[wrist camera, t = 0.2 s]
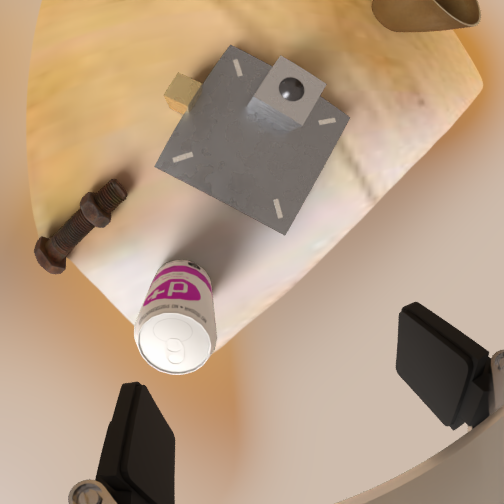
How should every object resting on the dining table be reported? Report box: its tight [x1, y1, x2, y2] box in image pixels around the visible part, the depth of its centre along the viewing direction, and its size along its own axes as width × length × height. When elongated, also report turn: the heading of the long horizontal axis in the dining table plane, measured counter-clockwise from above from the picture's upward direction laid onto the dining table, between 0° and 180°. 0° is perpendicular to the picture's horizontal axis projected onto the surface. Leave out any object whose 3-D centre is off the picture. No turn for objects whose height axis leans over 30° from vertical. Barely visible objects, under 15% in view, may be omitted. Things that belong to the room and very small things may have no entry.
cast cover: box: [247, 55, 327, 132], centre depth 30 cm, size 6×6×5 cm
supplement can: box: [134, 260, 217, 375], centre depth 33 cm, size 8×8×15 cm
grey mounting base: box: [155, 45, 350, 235], centre depth 33 cm, size 18×20×7 cm
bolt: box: [34, 179, 127, 274], centre depth 33 cm, size 6×5×15 cm
